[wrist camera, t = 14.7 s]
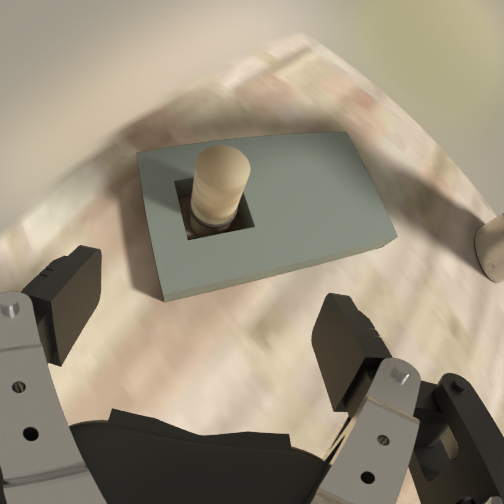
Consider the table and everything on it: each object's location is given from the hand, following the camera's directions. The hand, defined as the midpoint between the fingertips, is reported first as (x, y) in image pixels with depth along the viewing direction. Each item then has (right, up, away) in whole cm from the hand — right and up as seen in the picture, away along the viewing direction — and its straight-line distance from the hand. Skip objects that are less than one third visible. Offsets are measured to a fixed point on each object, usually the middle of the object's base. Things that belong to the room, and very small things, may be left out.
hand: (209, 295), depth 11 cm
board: (+3, +6, +22) cm, 23 cm away
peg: (-3, +5, +20) cm, 21 cm away
